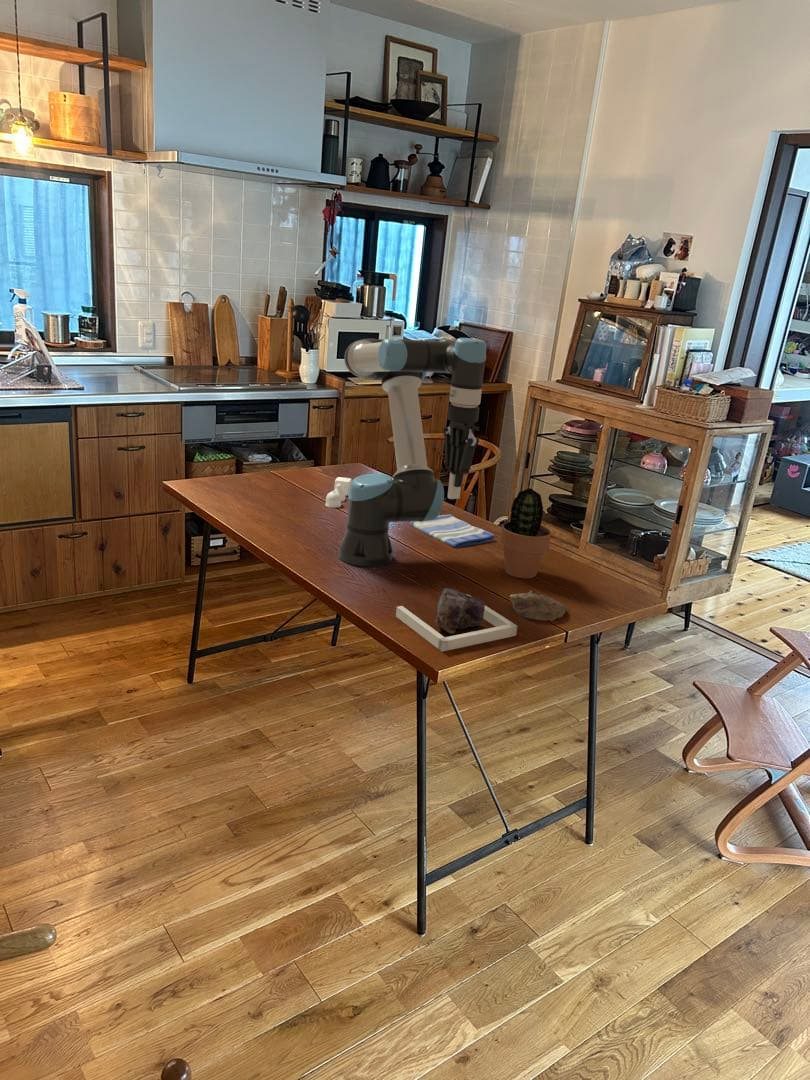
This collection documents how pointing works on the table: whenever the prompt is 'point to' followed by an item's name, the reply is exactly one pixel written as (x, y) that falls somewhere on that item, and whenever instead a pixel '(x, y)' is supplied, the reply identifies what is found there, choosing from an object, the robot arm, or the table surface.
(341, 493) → the container set
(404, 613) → the bay
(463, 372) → the robot arm
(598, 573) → the table surface
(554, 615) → the oyster shell
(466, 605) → the rock
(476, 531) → the dish towel
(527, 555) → the potted plant
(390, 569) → the table surface
